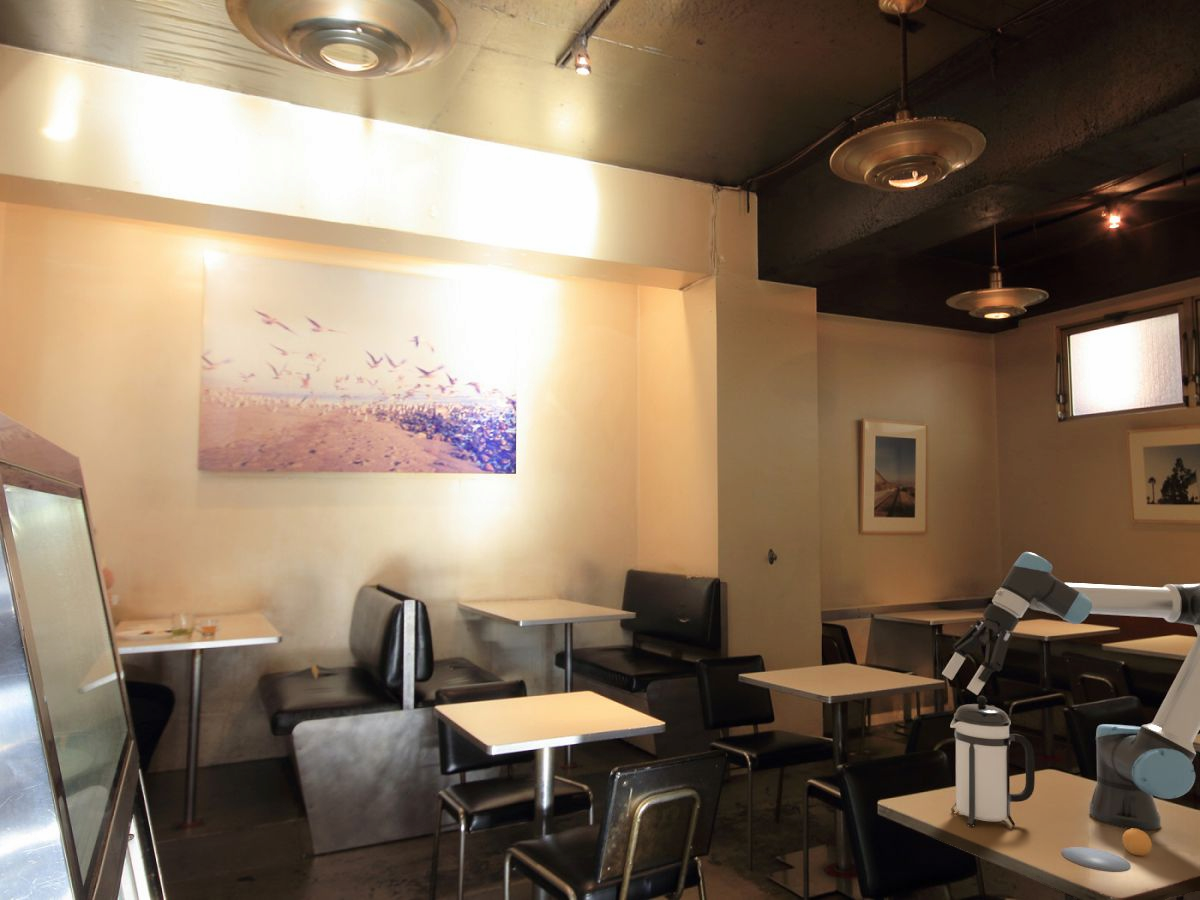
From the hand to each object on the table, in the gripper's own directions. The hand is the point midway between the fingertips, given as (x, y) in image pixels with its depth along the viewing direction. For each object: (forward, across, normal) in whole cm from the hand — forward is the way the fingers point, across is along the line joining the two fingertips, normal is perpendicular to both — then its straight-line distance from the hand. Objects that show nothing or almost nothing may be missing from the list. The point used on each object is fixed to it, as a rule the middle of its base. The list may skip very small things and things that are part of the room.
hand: (958, 684), depth 205 cm
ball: (+8, +18, +43) cm, 48 cm away
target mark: (+16, +21, +35) cm, 44 cm away
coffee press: (+24, -2, +25) cm, 35 cm away
